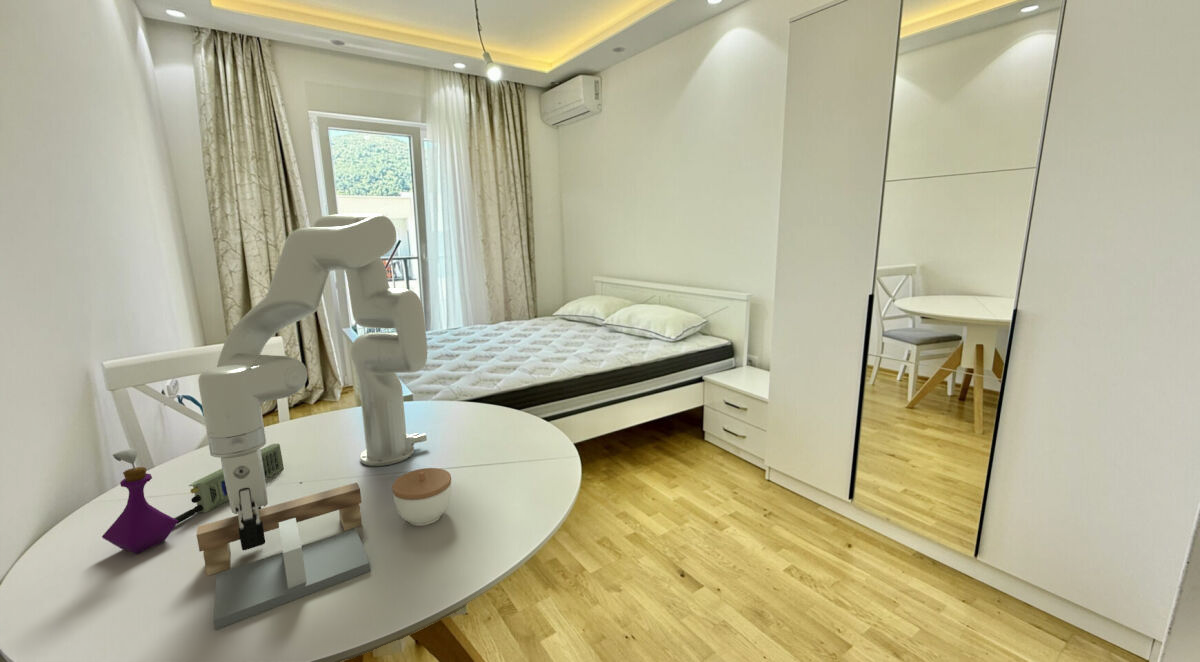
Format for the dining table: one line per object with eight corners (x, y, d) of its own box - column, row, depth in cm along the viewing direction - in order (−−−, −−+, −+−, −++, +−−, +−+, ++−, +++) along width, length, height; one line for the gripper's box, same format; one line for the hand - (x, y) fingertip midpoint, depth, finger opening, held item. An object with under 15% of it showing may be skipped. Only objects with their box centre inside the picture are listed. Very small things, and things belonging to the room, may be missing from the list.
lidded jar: (398, 539, 86) (393, 492, 85) (393, 510, 96) (389, 467, 94) (458, 523, 91) (455, 477, 89) (448, 497, 101) (445, 455, 99)
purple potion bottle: (181, 537, 88) (164, 445, 85) (131, 562, 81) (110, 463, 78) (155, 529, 90) (138, 440, 87) (104, 553, 83) (83, 457, 80)
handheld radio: (286, 469, 115) (180, 530, 90) (275, 469, 115) (166, 529, 91) (282, 443, 113) (173, 497, 89) (270, 443, 114) (158, 497, 90)
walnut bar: (358, 496, 94) (357, 482, 93) (361, 502, 91) (360, 488, 91) (200, 542, 79) (197, 526, 79) (199, 551, 77) (196, 535, 77)
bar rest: (356, 513, 95) (354, 495, 94) (362, 525, 91) (359, 506, 90) (208, 559, 81) (205, 538, 81) (207, 575, 77) (203, 553, 77)
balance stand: (356, 535, 88) (352, 498, 86) (370, 570, 78) (366, 529, 77) (218, 582, 76) (210, 539, 74) (215, 629, 66) (206, 582, 65)
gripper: (267, 451, 75) (282, 554, 78) (263, 419, 88) (276, 509, 92) (206, 464, 70) (225, 573, 74) (211, 429, 84) (227, 523, 87)
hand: (253, 537), depth 83 cm, fingers open, 5 cm apart
